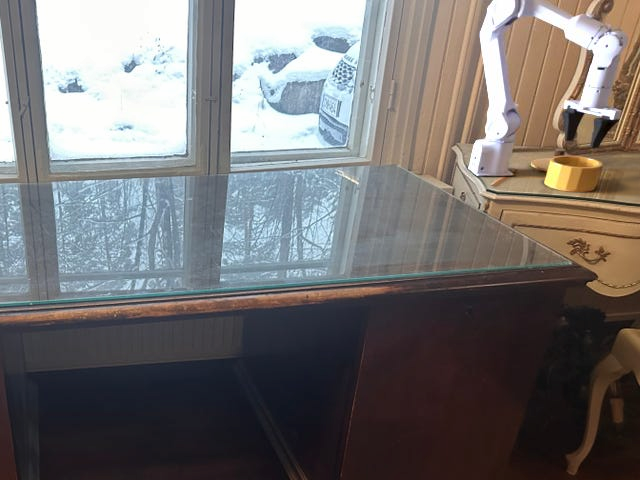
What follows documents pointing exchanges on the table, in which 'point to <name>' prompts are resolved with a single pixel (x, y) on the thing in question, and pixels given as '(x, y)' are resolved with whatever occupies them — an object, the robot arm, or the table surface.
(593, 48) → the robot arm
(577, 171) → the pot
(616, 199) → the table surface
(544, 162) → the pot lid
